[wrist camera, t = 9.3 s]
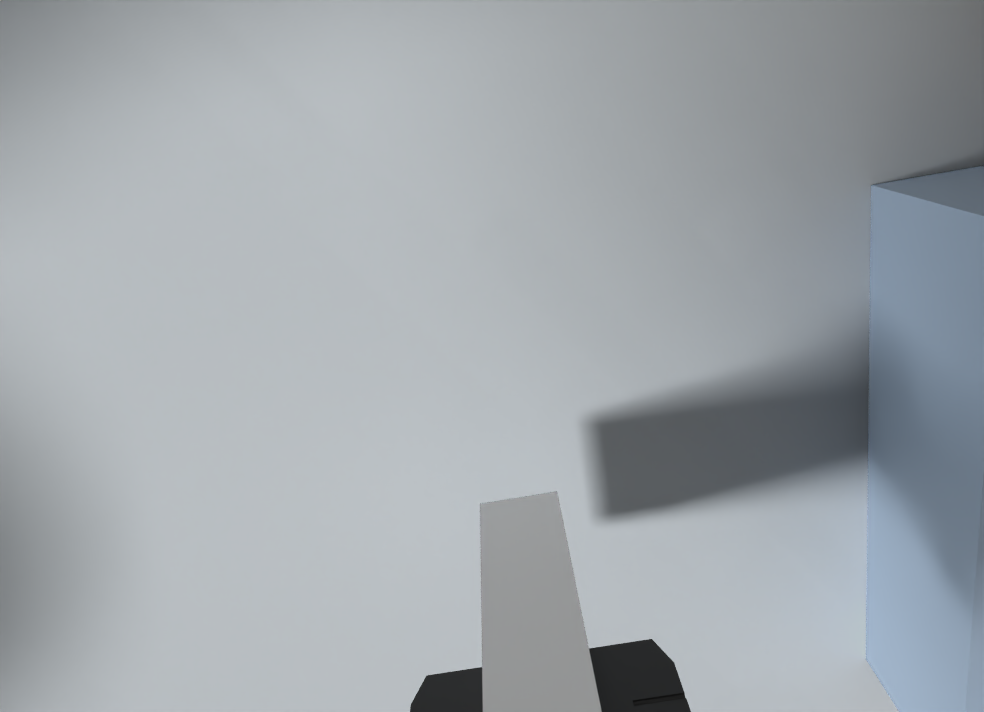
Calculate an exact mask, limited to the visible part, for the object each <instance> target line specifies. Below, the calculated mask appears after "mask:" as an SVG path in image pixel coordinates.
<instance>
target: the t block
mask: <svg viewBox="0 0 984 712" xmlns="http://www.w3.org/2000/svg"><path fill="white" fill-rule="evenodd" d="M866 660H867V662H868V663H869V665H870V666H871V668H872V670H873V671H874V673H875V674H876V676H877V677H878V679H879V681H880V682H881V684H882V685H883V687H884V688H885V690H886V692H887V693H888V695H889V696H890V698H891V700H892V701H893V703H894V704H895V706H896V707H897V709H898V711H899V712H984V166H978V167H972V168H967V169H961V170H955V171H949V172H944V173H938V174H932V175H927V176H921V177H915V178H909V179H904V180H898V181H892V182H887V183H881V184H875V185H871V250H870V338H869V426H868V513H867V601H866Z"/></svg>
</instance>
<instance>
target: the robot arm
mask: <svg viewBox="0 0 984 712" xmlns="http://www.w3.org/2000/svg"><path fill="white" fill-rule="evenodd" d="M480 543H481V616H482V667H480V668H474V669H467V670H460V671H454V672H447V673H441V674H434V675H428V676H426V678H425V680H424V682H423V683H422V685H421V687H420V689H419V691H418V693H417V694H416V696H415V698H414V700H413V702H412V704H411V709H410V712H691V711H690V708H689V705H688V702H687V699H686V698H685V694H684V691H683V688H682V685H681V682H680V679H679V676H678V673H677V670H676V667H675V664H674V662H673V661H672V660H671V659H670V658H669V657H668V656H667V655H666V654H665V653H664V652H663V651H662V650H661V648H660V647H659V646H658V645H657V644H656V643H655V642H654V641H653V640H652V639H649V640H642V641H636V642H629V643H623V644H616V645H610V646H603V647H597V648H590V649H589V647H588V642H587V637H586V632H585V627H584V622H583V617H582V612H581V607H580V602H579V597H578V592H577V587H576V582H575V577H574V572H573V568H572V563H571V558H570V553H569V548H568V543H567V538H566V533H565V528H564V523H563V518H562V513H561V508H560V503H559V498H558V493H557V491H556V492H550V493H543V494H537V495H531V496H525V497H519V498H513V499H507V500H500V501H494V502H488V503H482V504H480Z"/></svg>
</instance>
